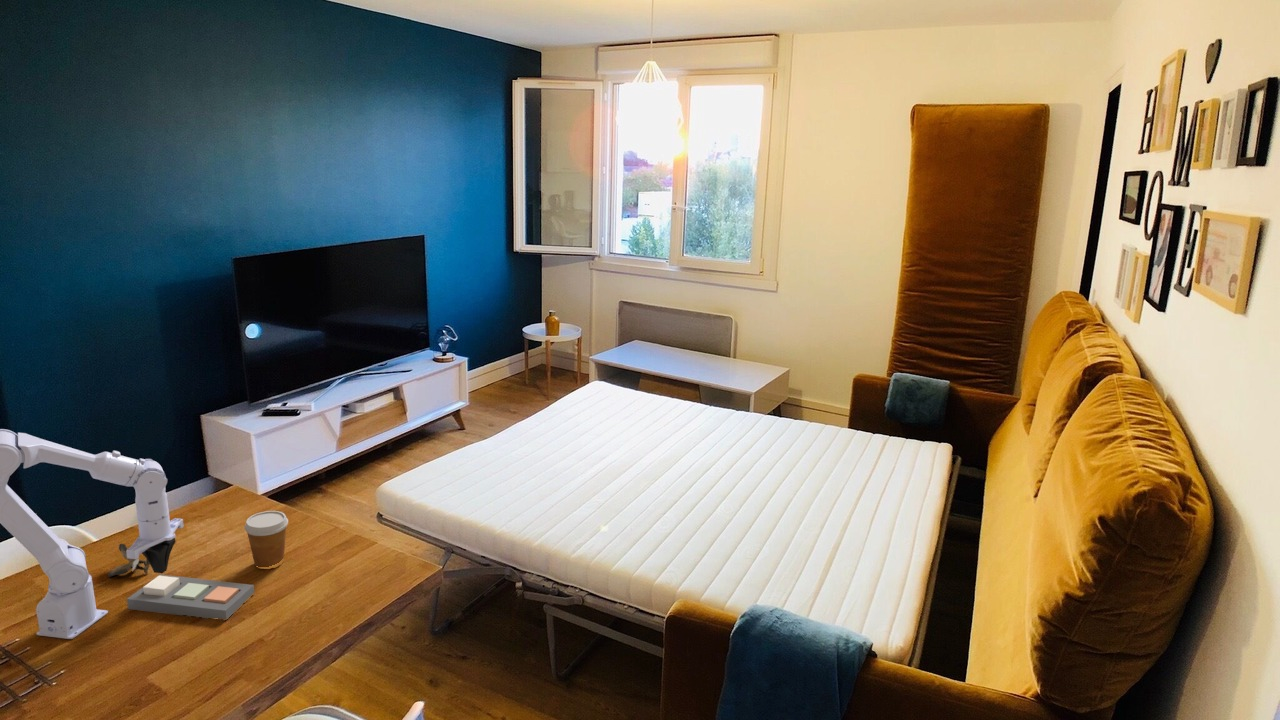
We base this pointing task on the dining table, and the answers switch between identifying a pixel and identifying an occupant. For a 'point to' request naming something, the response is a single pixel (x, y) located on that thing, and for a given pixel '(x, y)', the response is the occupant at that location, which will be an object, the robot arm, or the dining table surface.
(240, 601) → the key frame
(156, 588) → the ivory key
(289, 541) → the dining table surface
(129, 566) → the eagle figurine
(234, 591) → the terracotta key
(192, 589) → the sage key
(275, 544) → the disposable coffee cup
